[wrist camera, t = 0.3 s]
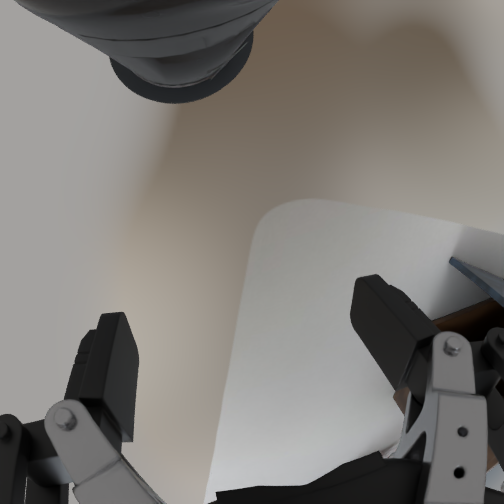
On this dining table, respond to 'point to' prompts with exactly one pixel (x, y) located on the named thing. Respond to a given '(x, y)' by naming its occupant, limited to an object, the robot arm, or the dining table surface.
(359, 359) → the dining table surface
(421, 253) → the dining table surface
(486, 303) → the cupboard
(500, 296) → the cupboard door
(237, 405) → the dining table surface
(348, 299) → the dining table surface
